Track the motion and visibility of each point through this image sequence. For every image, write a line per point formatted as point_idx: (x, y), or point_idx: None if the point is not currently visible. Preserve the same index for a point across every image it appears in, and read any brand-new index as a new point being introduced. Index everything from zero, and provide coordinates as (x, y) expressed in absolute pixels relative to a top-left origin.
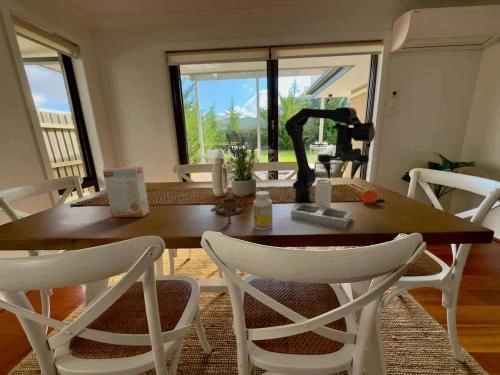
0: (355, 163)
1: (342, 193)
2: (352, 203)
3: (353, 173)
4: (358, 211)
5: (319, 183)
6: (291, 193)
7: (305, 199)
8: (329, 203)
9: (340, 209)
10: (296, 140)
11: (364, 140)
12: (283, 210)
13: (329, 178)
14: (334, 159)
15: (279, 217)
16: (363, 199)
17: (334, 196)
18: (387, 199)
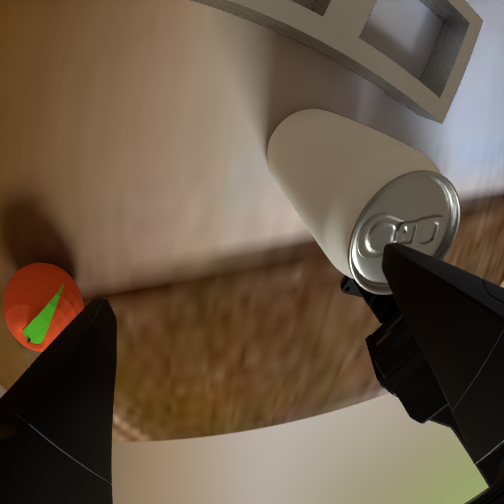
0: (26, 498)
1: (176, 381)
2: (127, 261)
3: (69, 343)
4: (101, 127)
5: (448, 185)
6: None
7: None
8: (287, 133)
9: (235, 3)
10: None
11: None
12: (477, 109)
13: (390, 243)
14: (497, 501)
15: (488, 34)
16: (68, 277)
17: (215, 343)
18: (4, 334)
